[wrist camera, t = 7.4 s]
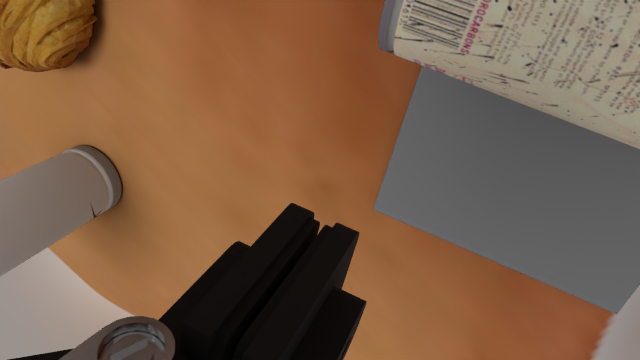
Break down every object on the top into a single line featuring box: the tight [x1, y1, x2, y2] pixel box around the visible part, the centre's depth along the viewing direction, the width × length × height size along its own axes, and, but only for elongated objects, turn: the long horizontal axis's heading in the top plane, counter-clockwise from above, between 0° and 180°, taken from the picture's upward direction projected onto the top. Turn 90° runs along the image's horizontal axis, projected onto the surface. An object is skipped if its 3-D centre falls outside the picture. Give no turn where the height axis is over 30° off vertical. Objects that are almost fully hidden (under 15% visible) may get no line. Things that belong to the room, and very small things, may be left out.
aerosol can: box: [378, 0, 640, 149], centre depth 21 cm, size 7×7×20 cm
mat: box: [373, 66, 640, 314], centre depth 26 cm, size 20×16×1 cm
